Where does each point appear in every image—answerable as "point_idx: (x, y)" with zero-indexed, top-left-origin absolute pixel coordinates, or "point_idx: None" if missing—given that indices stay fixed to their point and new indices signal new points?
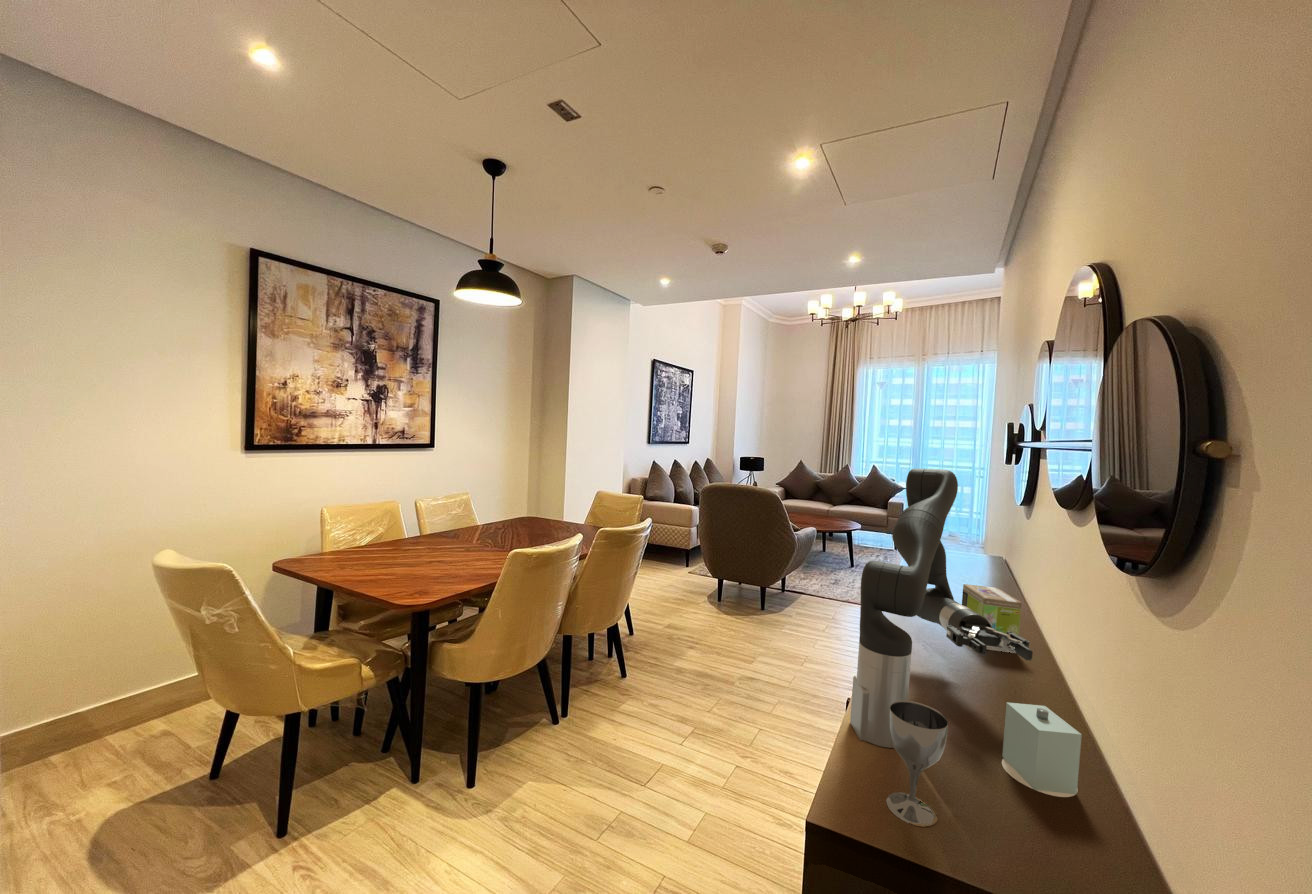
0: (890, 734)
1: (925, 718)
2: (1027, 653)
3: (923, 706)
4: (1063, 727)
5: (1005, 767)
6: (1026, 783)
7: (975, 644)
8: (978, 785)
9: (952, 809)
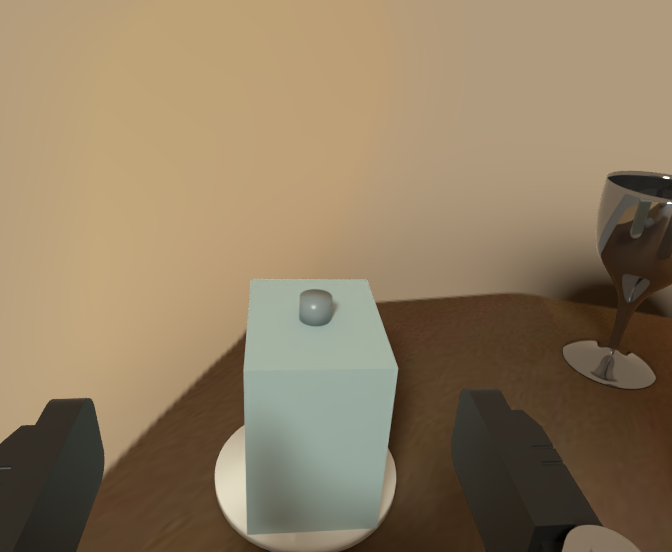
0: None
1: (652, 227)
2: (94, 424)
3: (667, 204)
4: (281, 292)
5: (390, 478)
6: None
7: (546, 439)
8: None
9: (537, 371)
